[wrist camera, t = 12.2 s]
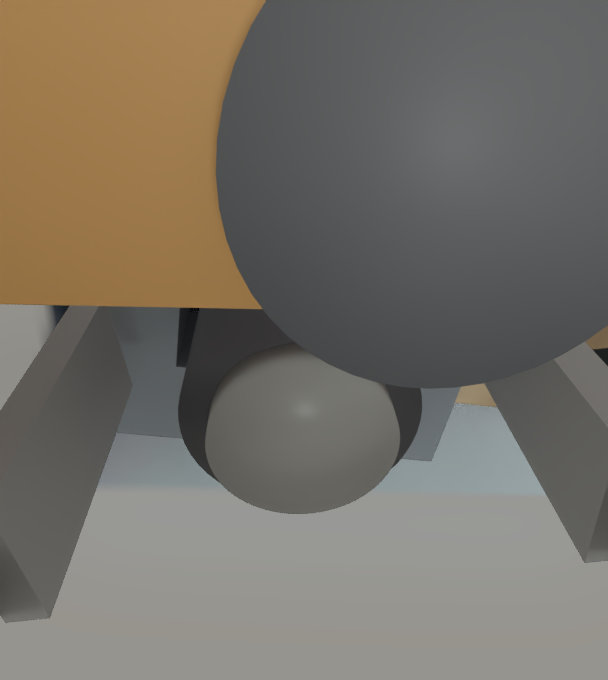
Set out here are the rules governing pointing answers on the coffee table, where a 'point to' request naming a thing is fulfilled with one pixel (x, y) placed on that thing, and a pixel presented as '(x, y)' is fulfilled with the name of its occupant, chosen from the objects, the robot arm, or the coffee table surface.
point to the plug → (287, 417)
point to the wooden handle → (317, 171)
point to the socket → (170, 364)
